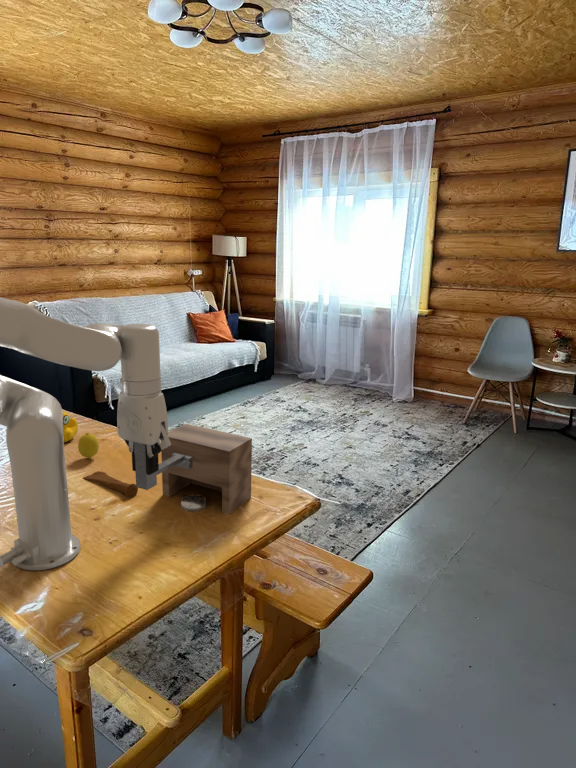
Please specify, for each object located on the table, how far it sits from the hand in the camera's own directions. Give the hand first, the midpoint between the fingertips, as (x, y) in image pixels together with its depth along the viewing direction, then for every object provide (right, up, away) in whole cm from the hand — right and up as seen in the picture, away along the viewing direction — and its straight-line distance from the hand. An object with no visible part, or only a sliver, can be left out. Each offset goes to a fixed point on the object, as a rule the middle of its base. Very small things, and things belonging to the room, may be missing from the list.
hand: (145, 469), depth 111 cm
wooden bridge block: (+9, -10, +23) cm, 27 cm away
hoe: (+2, -2, +6) cm, 7 cm away
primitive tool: (-17, -9, +27) cm, 33 cm away
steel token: (+7, -12, +18) cm, 23 cm away
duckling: (-40, 0, +56) cm, 69 cm away
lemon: (-28, -4, +43) cm, 52 cm away
